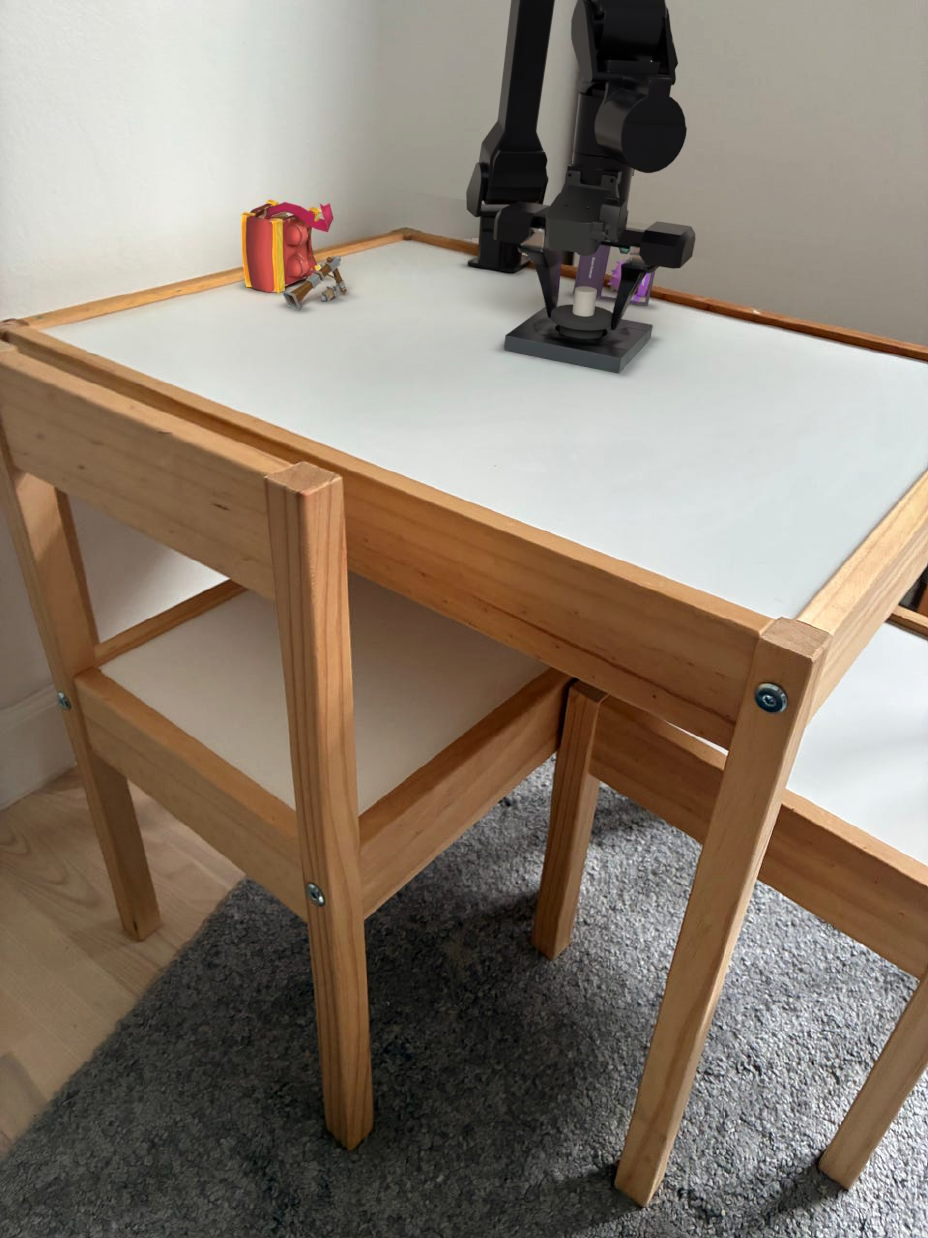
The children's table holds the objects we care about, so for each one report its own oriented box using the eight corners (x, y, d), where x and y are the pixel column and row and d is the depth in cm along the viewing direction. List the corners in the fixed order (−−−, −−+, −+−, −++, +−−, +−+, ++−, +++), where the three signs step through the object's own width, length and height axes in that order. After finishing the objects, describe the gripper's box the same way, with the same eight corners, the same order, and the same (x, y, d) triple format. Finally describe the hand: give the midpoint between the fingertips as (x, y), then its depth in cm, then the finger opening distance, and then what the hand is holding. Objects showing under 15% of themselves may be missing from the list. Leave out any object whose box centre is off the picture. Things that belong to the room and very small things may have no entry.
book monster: (277, 266, 110) (359, 290, 106) (228, 284, 103) (313, 310, 99) (273, 172, 103) (360, 193, 99) (220, 185, 97) (311, 208, 93)
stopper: (561, 319, 95) (566, 276, 93) (619, 330, 93) (625, 286, 91) (540, 336, 91) (544, 291, 88) (601, 347, 89) (607, 302, 86)
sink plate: (545, 318, 99) (546, 304, 98) (650, 338, 95) (653, 324, 94) (504, 350, 90) (505, 335, 89) (618, 373, 86) (621, 357, 85)
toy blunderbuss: (356, 287, 102) (342, 251, 98) (307, 329, 99) (291, 294, 95) (345, 283, 103) (331, 248, 99) (296, 325, 100) (281, 290, 96)
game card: (582, 233, 104) (659, 243, 102) (590, 240, 109) (664, 250, 107) (571, 293, 106) (646, 305, 104) (579, 298, 111) (651, 309, 109)
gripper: (475, 151, 79) (466, 328, 88) (683, 178, 73) (650, 364, 83) (521, 137, 88) (508, 300, 97) (711, 160, 82) (678, 331, 91)
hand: (581, 322), depth 91 cm, fingers closed on stopper, 6 cm apart
